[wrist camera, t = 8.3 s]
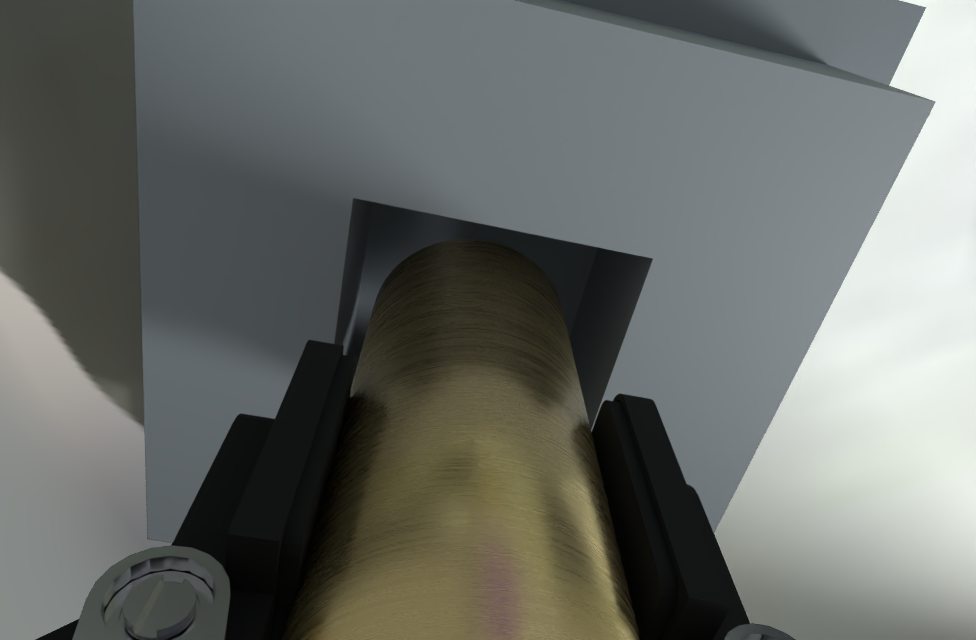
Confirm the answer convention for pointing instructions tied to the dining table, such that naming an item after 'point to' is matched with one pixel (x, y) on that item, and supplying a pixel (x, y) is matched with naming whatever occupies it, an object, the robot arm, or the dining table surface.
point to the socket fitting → (508, 193)
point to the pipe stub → (464, 470)
